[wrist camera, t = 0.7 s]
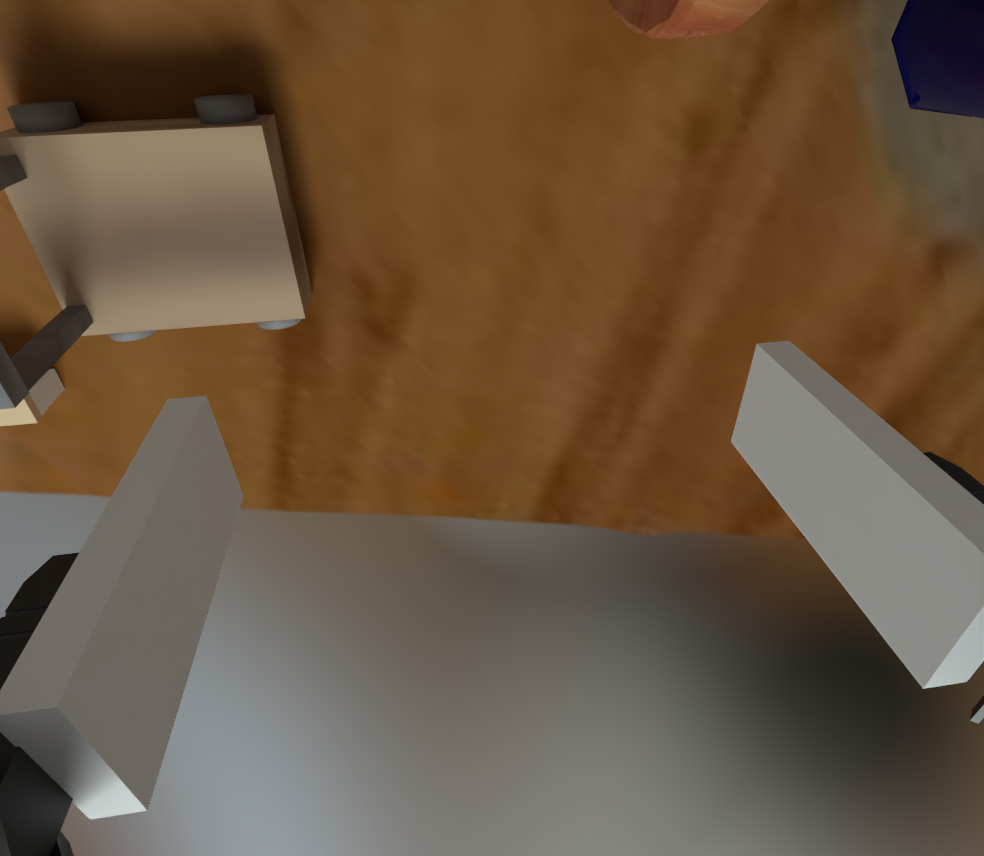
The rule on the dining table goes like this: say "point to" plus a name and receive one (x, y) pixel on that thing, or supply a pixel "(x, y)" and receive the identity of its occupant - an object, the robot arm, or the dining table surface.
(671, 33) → the mug
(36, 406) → the bay
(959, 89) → the bottle
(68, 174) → the trolley
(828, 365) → the dining table surface
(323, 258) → the dining table surface
